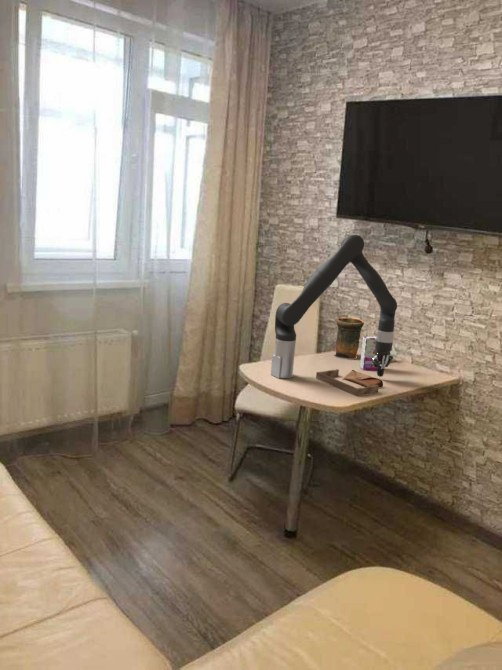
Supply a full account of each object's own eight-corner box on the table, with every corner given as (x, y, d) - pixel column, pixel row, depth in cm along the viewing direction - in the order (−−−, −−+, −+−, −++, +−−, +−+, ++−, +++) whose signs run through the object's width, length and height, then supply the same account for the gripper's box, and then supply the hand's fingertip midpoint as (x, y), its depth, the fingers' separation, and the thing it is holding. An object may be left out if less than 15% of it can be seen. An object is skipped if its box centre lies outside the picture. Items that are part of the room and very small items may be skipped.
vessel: (365, 357, 298) (369, 320, 293) (351, 361, 288) (354, 324, 283) (342, 351, 307) (346, 315, 303) (328, 355, 297) (331, 319, 292)
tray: (356, 396, 233) (357, 389, 232) (315, 378, 253) (316, 372, 253) (378, 392, 240) (378, 385, 239) (336, 375, 261) (337, 369, 260)
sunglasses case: (340, 378, 256) (346, 365, 257) (347, 383, 261) (353, 371, 262) (371, 389, 243) (378, 376, 244) (379, 395, 248) (385, 381, 249)
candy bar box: (379, 367, 280) (383, 336, 276) (384, 370, 275) (388, 338, 271) (359, 367, 277) (362, 335, 274) (362, 370, 273) (366, 337, 269)
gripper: (388, 337, 262) (383, 372, 265) (368, 339, 254) (364, 375, 258) (400, 340, 256) (395, 376, 259) (380, 343, 248) (376, 380, 252)
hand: (380, 376), depth 259 cm, fingers closed
